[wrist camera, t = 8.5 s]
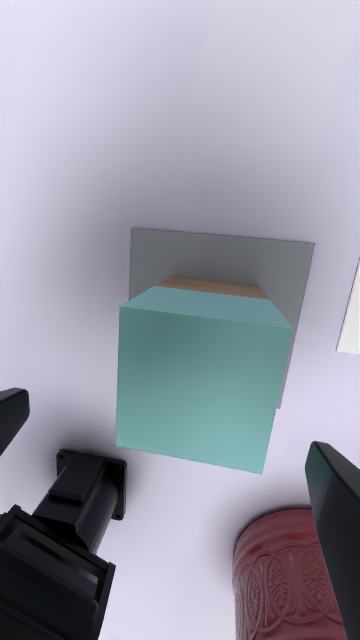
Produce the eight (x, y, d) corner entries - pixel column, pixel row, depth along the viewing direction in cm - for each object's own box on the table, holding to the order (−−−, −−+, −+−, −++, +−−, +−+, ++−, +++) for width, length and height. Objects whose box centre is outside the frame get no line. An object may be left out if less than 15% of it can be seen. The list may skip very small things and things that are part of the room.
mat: (278, 405, 21) (279, 408, 21) (127, 381, 23) (126, 384, 22) (313, 243, 18) (314, 243, 18) (133, 227, 19) (131, 227, 19)
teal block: (250, 403, 16) (261, 474, 11) (147, 386, 16) (115, 445, 12) (270, 299, 14) (293, 328, 9) (153, 285, 15) (119, 306, 10)
